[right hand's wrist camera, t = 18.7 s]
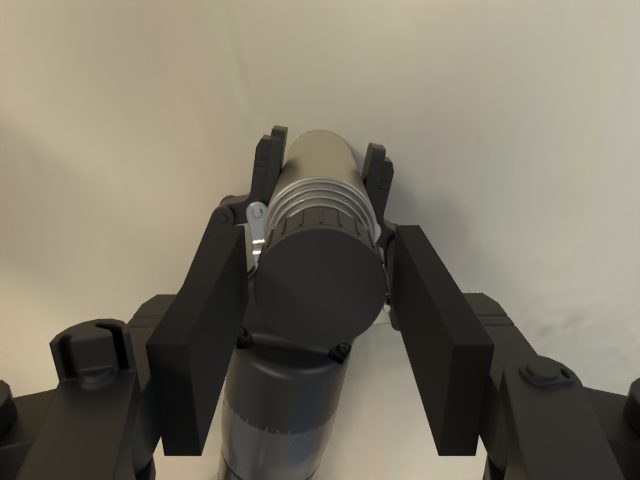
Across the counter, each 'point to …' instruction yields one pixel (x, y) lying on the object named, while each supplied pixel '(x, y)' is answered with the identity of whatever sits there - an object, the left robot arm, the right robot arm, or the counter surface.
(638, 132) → the counter surface
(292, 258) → the cap
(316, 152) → the bottle
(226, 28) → the counter surface
